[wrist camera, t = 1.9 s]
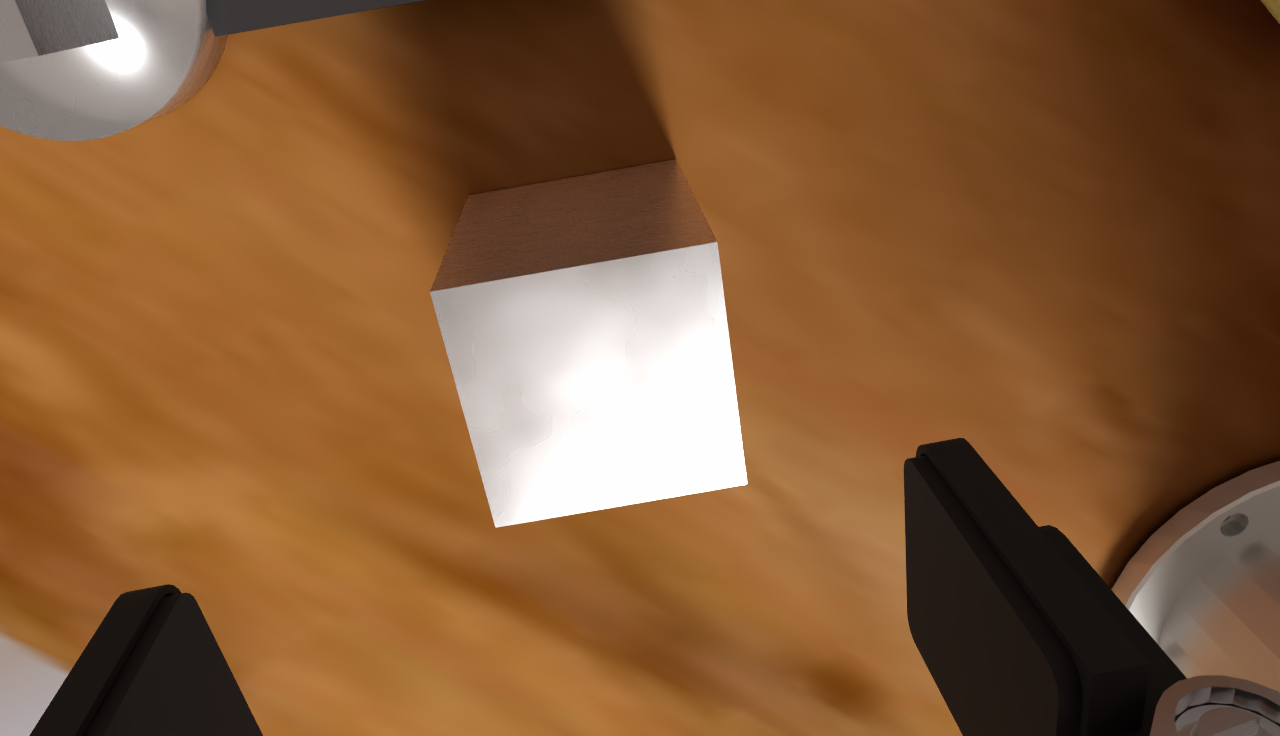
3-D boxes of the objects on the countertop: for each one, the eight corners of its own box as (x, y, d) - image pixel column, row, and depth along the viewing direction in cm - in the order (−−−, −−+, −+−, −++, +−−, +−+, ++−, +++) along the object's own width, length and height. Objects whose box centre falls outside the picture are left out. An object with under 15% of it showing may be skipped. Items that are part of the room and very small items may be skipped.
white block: (676, 159, 23) (717, 242, 16) (702, 348, 25) (747, 484, 19) (468, 195, 23) (430, 291, 17) (513, 381, 25) (495, 527, 19)
